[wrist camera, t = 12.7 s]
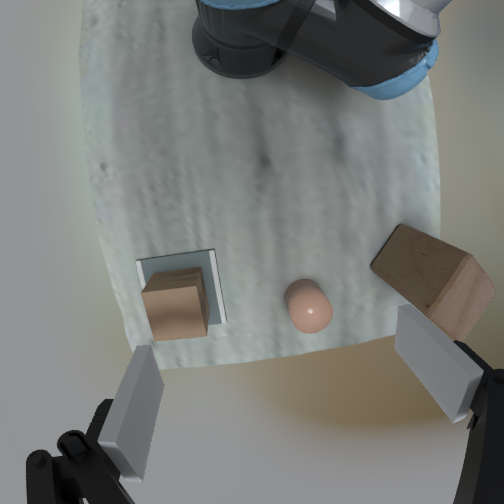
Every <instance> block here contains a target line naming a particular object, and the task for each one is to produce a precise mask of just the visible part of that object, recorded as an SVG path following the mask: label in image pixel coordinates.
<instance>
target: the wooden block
mask: <svg viewBox="0 0 504 504" xmlns="http://www.w3.org/2000/svg"><path fill="white" fill-rule="evenodd" d="M371 268H372V270H373V272H374V273H375V274H377V275H378V276H379V277H380V278H382V279H383V280H384V281H385V282H386V283H388V284H389V285H390V286H391V287H392V288H394V289H395V290H396V291H397V292H398V293H400V294H401V295H402V296H403V297H404V298H405V299H407V300H408V301H409V302H410V303H411V304H413V305H414V306H415V307H416V308H417V309H418V310H419V311H421V312H422V313H423V314H424V315H425V316H426V317H428V318H429V319H430V320H431V321H432V322H434V323H435V324H436V325H437V326H438V327H440V328H441V329H442V330H443V331H444V332H446V333H447V334H448V335H449V336H450V337H452V338H453V339H454V340H458V341H460V342H461V341H463V340H464V339H465V337H466V336H467V335H468V333H469V332H470V331H471V329H472V328H473V327H474V325H475V324H476V322H477V321H478V319H479V318H480V317H481V315H482V314H483V312H484V311H485V309H486V308H487V306H488V305H489V303H490V302H491V300H492V298H493V297H494V295H495V294H496V290H497V289H496V286H495V285H494V283H493V282H492V280H491V279H490V277H489V276H488V275H487V273H486V272H485V271H484V269H483V268H482V267H481V266H480V264H479V263H478V262H477V261H476V259H475V258H474V257H473V255H472V254H469V253H467V252H465V251H463V250H461V249H459V248H457V247H454V246H452V245H450V244H448V243H446V242H443V241H441V240H439V239H437V238H434V237H432V236H430V235H427V234H425V233H423V232H420V231H418V230H416V229H413V228H411V227H408V226H406V225H403V224H401V225H399V226H398V227H397V229H396V230H395V232H394V233H393V235H392V236H391V238H390V239H389V241H388V242H387V243H386V245H385V246H384V248H383V249H382V251H381V252H380V253H379V255H378V256H377V258H376V259H375V260H374V262H373V263H372V265H371Z"/></svg>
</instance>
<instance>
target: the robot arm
mask: <svg viewBox="0 0 504 504" xmlns="http://www.w3.org/2000/svg"><path fill="white" fill-rule="evenodd" d="M451 1H452V0H196V4H197V8H198V13H199V15H198V17H197V19H196V21H195V23H194V26H193V31H192V41H193V45H194V49H195V52H196V54H197V56H198V57H199V59H200V60H201V62H202V63H203V64H204V65H205V66H206V67H208V68H209V69H210V70H212V71H214V72H215V73H217V74H220V75H222V76H226V77H230V78H237V79H246V78H253V77H257V76H261V75H263V74H266V73H268V72H269V71H271V70H273V69H274V68H275V67H277V66H278V65H279V64H280V63H281V61H282V60H283V59H284V57H285V55H286V54H287V52H288V53H290V54H292V55H294V56H296V57H298V58H300V59H302V60H304V61H306V62H308V63H310V64H312V65H314V66H316V67H318V68H320V69H322V70H323V71H325V72H327V73H329V74H331V75H333V76H334V77H336V78H338V79H340V80H341V81H343V82H344V83H345V84H346V85H347V86H349V87H350V88H353V89H357V90H359V91H361V92H363V93H365V94H366V95H368V96H370V97H372V98H375V99H379V100H389V99H393V98H396V97H399V96H401V95H403V94H405V93H407V92H408V91H410V90H411V89H413V88H414V87H415V86H416V85H418V84H419V83H420V82H421V81H422V80H423V79H424V78H425V77H426V75H427V73H426V71H427V70H429V69H431V68H432V67H433V65H434V64H435V62H436V60H437V57H438V53H439V47H438V42H437V40H436V37H437V36H438V35H439V34H440V32H441V29H440V21H439V13H440V12H441V11H442V10H443V9H444V8H445V7H446V6H447V5H448V4H449V3H450V2H451ZM311 7H312V8H311ZM308 12H309V13H308ZM307 14H308V15H307ZM304 19H305V20H304ZM303 21H304V22H303ZM300 26H301V27H300ZM299 28H300V29H299ZM298 30H299V31H298ZM296 33H297V34H296ZM295 35H296V36H295ZM294 37H295V38H294ZM293 39H294V40H293ZM291 42H292V43H291ZM290 44H291V45H290ZM394 349H395V350H396V351H397V352H398V354H399V355H400V356H401V357H402V358H403V360H404V361H405V362H406V363H407V365H408V366H409V367H410V368H411V370H412V371H413V372H414V374H415V375H416V376H417V377H418V379H419V380H420V381H421V382H422V384H423V385H424V386H425V387H426V389H427V390H428V391H429V393H430V394H431V395H432V397H434V399H435V400H436V402H437V403H438V404H439V405H440V407H441V408H442V410H443V411H444V412H445V414H446V415H447V416H448V418H449V419H450V420H451V422H452V423H455V422H457V421H459V420H461V419H463V418H465V417H466V416H467V413H468V411H469V409H471V410H472V411H473V412H474V413H473V415H472V418H471V420H470V422H469V424H468V427H467V429H469V427H470V432H469V438H468V444H467V449H466V454H465V459H464V464H463V468H462V473H461V477H460V481H459V485H458V488H457V492H456V495H455V499H454V502H453V504H504V369H495V370H493V369H492V368H491V367H490V366H489V365H488V364H487V363H486V362H485V361H484V360H483V359H482V358H480V357H479V356H478V355H476V353H475V352H474V351H472V349H470V348H469V347H468V346H467V345H466V344H465V343H462V342H460V341H458V340H455V341H452V340H450V339H449V338H448V337H447V336H446V335H445V334H444V333H443V332H442V331H441V330H439V329H438V328H437V327H436V326H435V325H434V324H433V323H432V322H430V321H429V320H428V319H427V318H426V317H425V316H424V315H423V314H421V313H420V312H419V311H418V310H417V309H416V308H415V307H413V306H412V305H411V304H407V305H403V306H399V308H398V319H397V329H396V339H395V346H394ZM163 389H164V383H163V380H162V377H161V374H160V372H159V369H158V366H157V363H156V360H155V357H154V354H153V351H152V348H151V345H143V346H137V347H136V349H135V351H134V354H133V356H132V358H131V360H130V363H129V365H128V367H127V369H126V372H125V374H124V377H123V379H122V381H121V384H120V386H119V388H118V391H117V393H116V395H115V398H114V399H105V400H104V401H103V402H102V403H101V404H100V405H99V406H98V408H97V410H96V412H95V416H94V417H93V419H92V422H91V423H90V426H89V428H88V430H87V433H86V435H85V434H84V433H83V432H81V431H78V430H71V431H68V432H66V433H64V434H63V435H61V437H60V438H59V439H58V442H57V448H58V449H59V451H60V452H61V453H62V455H63V456H57V457H52V456H51V455H50V454H49V453H48V452H47V451H46V450H36V451H34V452H32V453H31V454H30V455H29V456H28V458H27V461H26V487H27V504H84V502H83V498H86V499H87V501H88V503H89V504H135V503H134V501H133V500H132V499H131V497H130V496H129V494H128V493H127V492H126V490H125V489H124V488H123V486H122V485H121V483H120V482H119V478H120V474H121V475H122V476H123V478H124V479H125V480H126V481H135V482H143V478H144V473H145V469H146V464H147V459H148V454H149V450H150V445H151V441H152V436H153V432H154V427H155V423H156V418H157V414H158V410H159V405H160V402H161V398H162V394H163Z"/></svg>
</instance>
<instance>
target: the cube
mask: <svg viewBox="0 0 504 504" xmlns="http://www.w3.org/2000/svg"><path fill="white" fill-rule="evenodd" d="M141 295H142V298H143V302H144V306H145V309H146V313H147V316H148V320H149V323H150V327H151V330H152V333H153V337H154V340H155V341H163V340H174V339H184V338H194V337H203V336H207V330H208V322H209V313H210V311H209V306H208V301H207V295H206V290H205V285H204V280H203V274H202V269H201V267H196V268H189V269H181V270H174V271H166V272H159V273H153V275H152V276H151V278H150V279H149V281H148V283H147V284H146V286H145V287H144V289H143V290H142V292H141Z"/></svg>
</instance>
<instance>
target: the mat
mask: <svg viewBox="0 0 504 504" xmlns="http://www.w3.org/2000/svg"><path fill="white" fill-rule="evenodd" d="M136 265H137V270H138V274H139V278H140V282H141V286H142V290H143V289H144V287H145V286H146V284H147V283H148V281H149V279H150V278H151V276H152V275H153V273H159V272H166V271H174V270H181V269H189V268H196V267H201V269H202V274H203V280H204V285H205V290H206V295H207V301H208V306H209V311H210V313H209V322H208V325H212V324H220V323H222V324H227V320H226V314H225V309H224V303H223V297H222V292H221V286H220V280H219V274H218V268H217V262H216V256H215V250H214V249H209V250H202V251H195V252H188V253H181V254H174V255H167V256H160V257H153V258H146V259H139V260H137V261H136Z"/></svg>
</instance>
